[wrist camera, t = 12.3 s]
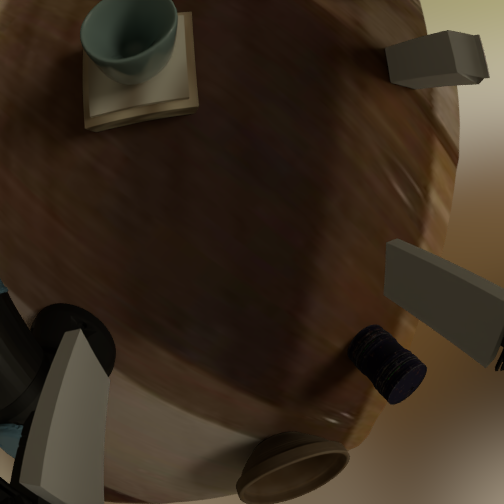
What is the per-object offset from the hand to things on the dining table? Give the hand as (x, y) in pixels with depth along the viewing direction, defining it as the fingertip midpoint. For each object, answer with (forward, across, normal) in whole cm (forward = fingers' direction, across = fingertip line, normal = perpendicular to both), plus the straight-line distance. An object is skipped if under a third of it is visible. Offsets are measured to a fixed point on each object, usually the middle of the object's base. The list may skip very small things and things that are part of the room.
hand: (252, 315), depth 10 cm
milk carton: (+27, -40, -19) cm, 52 cm away
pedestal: (+28, +3, -18) cm, 33 cm away
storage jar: (+27, -28, +36) cm, 53 cm away
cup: (+22, +3, -18) cm, 29 cm away
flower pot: (+28, -6, +63) cm, 69 cm away
